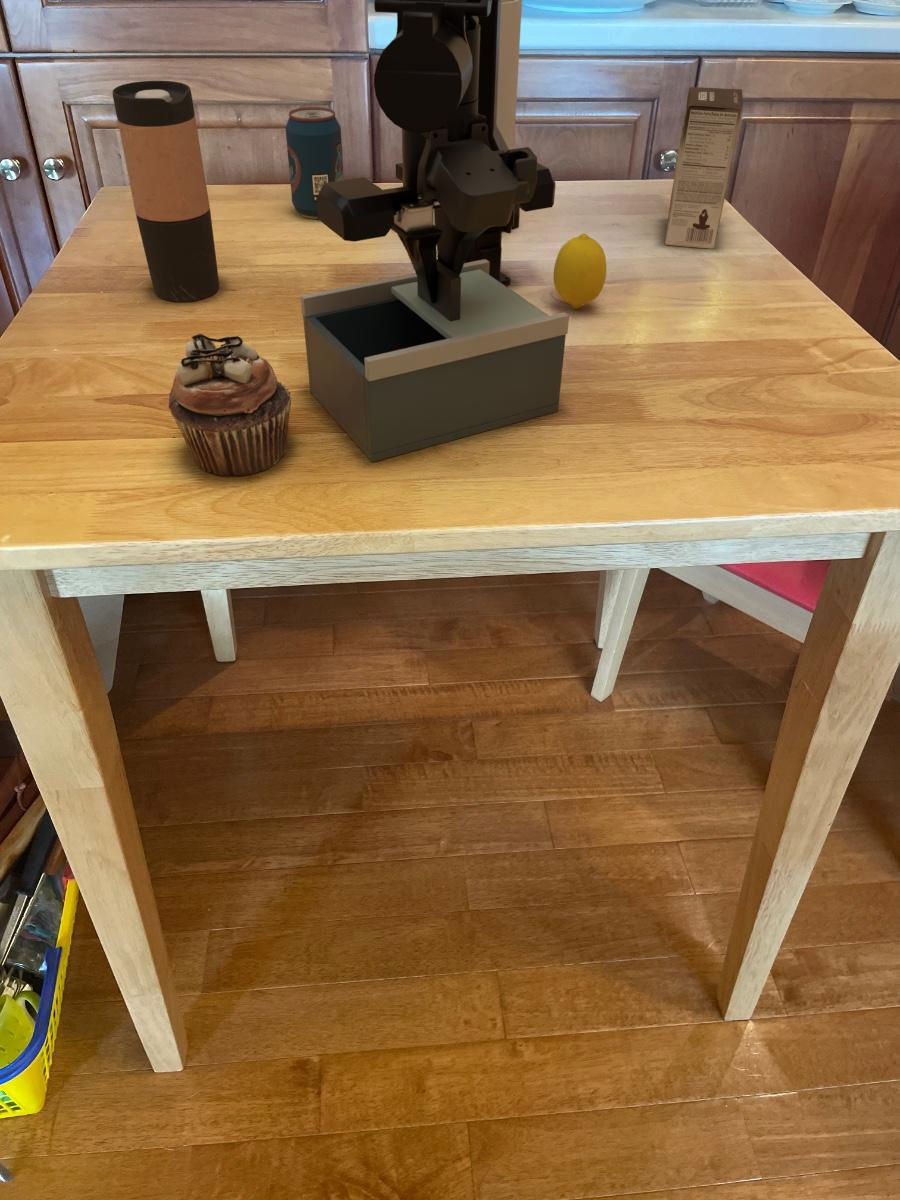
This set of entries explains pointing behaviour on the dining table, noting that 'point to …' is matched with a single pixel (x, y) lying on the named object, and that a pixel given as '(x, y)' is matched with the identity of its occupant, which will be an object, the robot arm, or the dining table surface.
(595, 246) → the lemon
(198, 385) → the cupcake
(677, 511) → the dining table surface
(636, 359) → the dining table surface
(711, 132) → the coffee box
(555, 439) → the dining table surface
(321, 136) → the soda can
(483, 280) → the slide door
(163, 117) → the travel mug
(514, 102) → the cylinder vase
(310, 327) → the chest
